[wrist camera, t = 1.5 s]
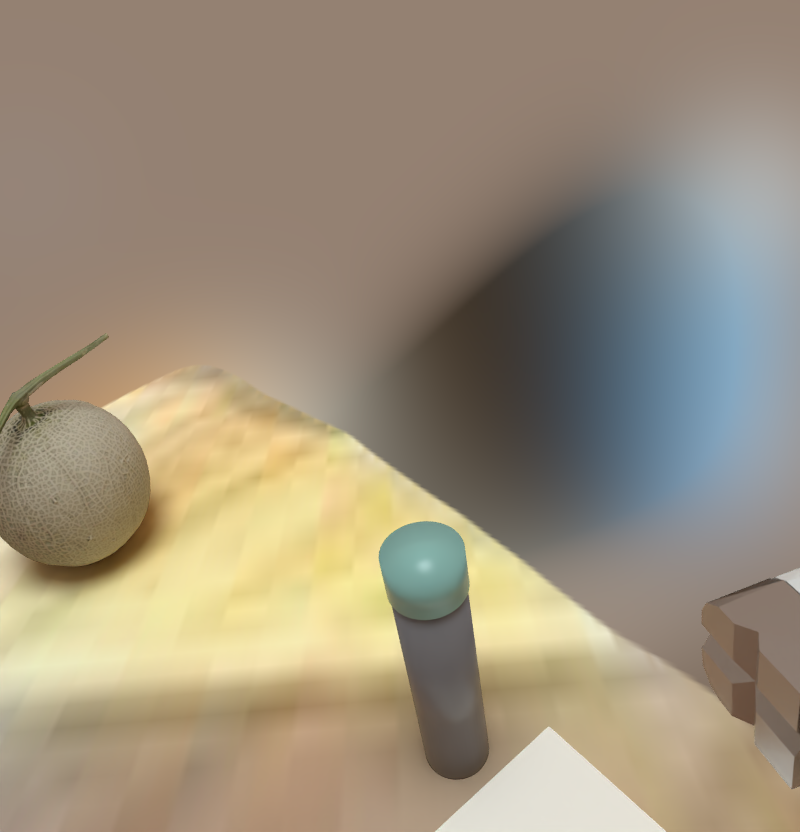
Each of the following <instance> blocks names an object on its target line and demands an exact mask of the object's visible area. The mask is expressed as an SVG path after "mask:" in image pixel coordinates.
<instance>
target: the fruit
mask: <svg viewBox="0 0 800 832" xmlns="http://www.w3.org/2000/svg"><path fill="white" fill-rule="evenodd" d="M108 337H109V336H108V335H107V334H106V333H105V334H104V335H103V336H101V337H100V338H98V339H97V340H95V341H94V342H93V343H91V344H90V345H88V346H87V347H85V348H83V349H82V350H80V351H78V352H77V353H75V354H73V355H72V356H70V357H68V358H67V359H65V360H63V361H62V362H60V363H58V364H57V365H55V366H54V367H52V368H50V369H49V370H47V371H45V372H44V373H42V374H41V375H39V376H38V377H36V378H35V379H33V380H32V381H30V382H28V383H27V384H26V385H24V386H23V387H22V388H21V389H19V390H18V391H16V392H14V393H12V395H11V397H10V398H9V400H8V402H7V404H6V405H5V407H4V409H3V411H2V413H1V415H0V536H1V538H2V539H3V540H4V541H6V542H7V543H8V544H9V545H10V546H11V547H12V548H14V549H15V550H16V551H18V552H19V553H21V554H22V555H24V556H26V557H27V558H30V559H32V560H34V561H37V562H41V563H44V564H48V565H59V566H83V565H88V564H92V563H94V562H97V561H100V560H102V559H104V558H105V557H107V556H109V555H111V554H113V553H114V552H115V551H117V550H118V549H119V548H120V547H121V546H123V545H124V544H125V543H126V542H127V541H128V540H129V538H130V537H131V536H132V535H133V534H134V533H135V531H136V530H137V529H138V528H139V526H140V524H141V522H142V521H143V519H144V517H145V514H146V511H147V508H148V503H149V497H150V475H149V470H148V465H147V461H146V458H145V456H144V453H143V451H142V448H141V446H140V445H139V443H138V442H137V440H136V438H135V437H134V435H133V434H132V433H131V432H130V430H129V429H128V428H127V427H126V426H125V425H124V424H123V423H122V422H121V421H120V420H119V419H118V418H116V417H115V416H114V415H112V414H111V413H109V412H107V411H106V410H104V409H102V408H99V407H97V406H94V405H92V404H90V403H88V402H83V401H78V400H55V401H48V402H44V403H40V404H38V405H35V406H31V407H30V405H29V403H28V402H29V396H30V395H31V394H32V393H34V392H35V391H36V390H37V389H38V388H39V387H40V386H41V385H43V384H44V383H45V382H46V381H48V380H49V379H50V378H51V377H53V376H54V375H56V374H57V373H58V372H60V371H61V370H63V369H64V368H66V367H67V366H69V365H71V364H72V363H73V362H75V361H77V360H78V359H80V358H81V357H83V356H84V355H85V354H87V353H88V352H89V351H91V350H92V349H94V348H95V347H96V346H98V345H99V344H100V343H101V342H103V341H104V340H106V339H107V338H108ZM15 408H16V409H17V411H18V413H16V414H15V415H14V416H13V417H12V418H11V419H9V421H7V420H8V418H9V416H10V414H11V413H12V411H13V410H14V409H15Z"/></svg>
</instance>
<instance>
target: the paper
mask: <svg viewBox="0 0 800 832" xmlns="http://www.w3.org/2000/svg"><path fill="white" fill-rule="evenodd" d="M435 832H666V831H665V830H664V829H663V828H662V827H660V826H659V825H658V824H657V823H656V822H655V821H654V820H653V819H652V818H650V817H649V816H648V815H647V814H646V813H645V812H644V811H643V810H642V809H640V808H639V807H638V806H637V805H636V804H635V803H634V802H633V801H632V800H630V799H629V798H628V797H627V796H626V795H625V794H624V793H623V792H622V791H620V790H619V789H618V788H617V787H616V786H615V785H614V784H613V783H612V782H610V781H609V780H608V779H607V778H606V777H605V776H604V775H603V774H602V773H600V772H599V771H598V770H597V769H596V768H595V767H594V766H593V765H591V764H590V763H589V762H588V761H587V760H586V759H585V758H584V757H583V756H581V755H580V754H579V753H578V752H577V751H576V750H575V749H574V748H573V747H571V746H570V745H569V744H568V743H567V742H566V741H565V740H564V739H563V738H561V737H560V736H559V735H558V734H557V733H556V732H555V731H554V730H553V729H551V728H550V727H549V726H548V727H547V728H546V729H545V730H544V731H543V732H542V733H541V734H540V735H539V736H538V737H537V738H535V739H534V740H533V741H532V742H531V743H530V744H529V745H528V746H527V747H526V748H525V749H524V750H523V751H521V752H520V753H519V754H518V755H517V756H516V757H515V758H514V759H513V760H512V761H511V762H510V763H509V764H507V765H506V766H505V767H504V768H503V769H502V770H501V771H500V772H499V773H498V774H497V775H496V776H494V777H493V778H492V779H491V780H490V781H489V782H488V783H487V784H486V785H485V786H484V787H483V788H482V789H480V790H479V791H478V792H477V793H476V794H475V795H474V796H473V797H472V798H471V799H470V800H469V801H468V802H466V803H465V804H464V805H463V806H462V807H461V808H460V809H459V810H458V811H457V812H456V813H455V814H453V815H452V816H451V817H450V818H449V819H448V820H447V821H446V822H445V823H444V824H443V825H442V826H441V827H439V828H438V829H437V830H436V831H435Z"/></svg>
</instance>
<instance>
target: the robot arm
mask: <svg viewBox="0 0 800 832" xmlns="http://www.w3.org/2000/svg"><path fill="white" fill-rule="evenodd" d="M702 625H703V626H704V627H705V628H706V629H707V631H708V632H709V633H710V635H709V637H708V638H707V640H706V642H705V643H704V645H703V646H702V658H703V666H704V669H705V671H706V674H707V677H708V680H709V683H710V685H711V687H712V688H713V690H714V692H715V693H716V695H717V697H718V698H719V700H720V701H721V702H722V704H723V705H724V706H725V708H726V709H727V710H728V711H729V713H730V714H731V715H732V716H734V717H736V718H738V719H740V720H743V721H745V722H747V723H749V724H752V725H754V739H755V745H756V746H757V748H758V749H759V750H760V751H761V753H762V754H763V755H764V756H765V758H766V759H767V760H768V761H769V762H770V764H771V765H772V766H773V767H774V769H775V770H776V771H777V772H778V774H779V775H780V776H781V777H782V778H783V780H784V781H785V782H786V783H787V785H788V786H789V787H790V788H791V789H794V788H797V787H799V786H800V568H797V569H795V570H792V571H790V572H787V573H785V574H782V575H780V576H777V577H774V578H772V579H771V578H769V579H766V580H764V581H761V582H758V583H756V584H753V585H751V586H748V587H746V588H743V589H741V590H738V591H735V592H733V593H730V594H728V595H725V596H723V597H720V598H718V599H715V600H713V601H710V602H708V603H706V604H705V606H704V607H703V609H702Z"/></svg>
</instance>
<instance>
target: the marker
mask: <svg viewBox="0 0 800 832" xmlns="http://www.w3.org/2000/svg"><path fill="white" fill-rule="evenodd" d="M379 563H380V567H381V571H382V576H383V580H384V584H385V589H386V593H387V597H388V600H389V602H390V604H391V606H392V608H393V613H394V617H395V622H396V626H397V630H398V635H399V639H400V644H401V648H402V652H403V657H404V661H405V666H406V670H407V674H408V679H409V683H410V688H411V692H412V696H413V701H414V705H415V710H416V714H417V718H418V723H419V727H420V732H421V736H422V741H423V745H424V749H425V754H426V758H427V760H428V763H429V764H430V766H431V767H432V769H433V770H434V771H435V772H437V773H438V774H440V775H441V776H443V777H446V778H450V779H463V778H467V777H470V776H472V775H473V774H475V773H476V772H478V771H479V770H480V769H481V768H482V766H483V765H484V764H485V762H486V760H487V757H488V752H489V744H488V737H487V729H486V722H485V714H484V707H483V699H482V692H481V684H480V677H479V669H478V662H477V654H476V647H475V639H474V632H473V624H472V617H471V610H470V602H469V595H468V591H469V576H468V568H467V561H466V553H465V546H464V542H463V540H462V538H461V536H460V535H459V534H458V533H457V532H456V531H455V530H454V529H452V528H451V527H449V526H447V525H444V524H441V523H437V522H428V521H425V522H416V523H412V524H408V525H405V526H403V527H401V528H399V529H397V530H396V531H394V532H393V533H391V534H390V535H389V536H388V537H387V538H386V540H385V541H384V542H383V544H382V546H381V548H380V551H379Z"/></svg>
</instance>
